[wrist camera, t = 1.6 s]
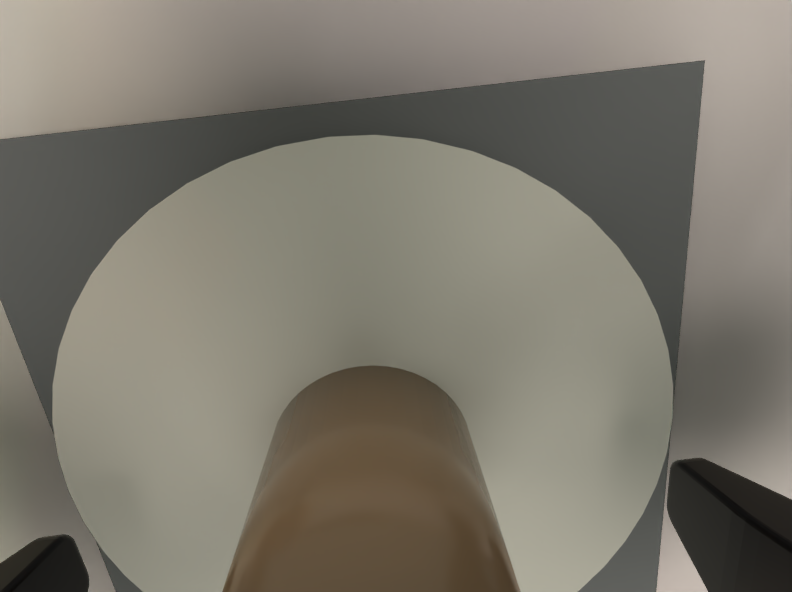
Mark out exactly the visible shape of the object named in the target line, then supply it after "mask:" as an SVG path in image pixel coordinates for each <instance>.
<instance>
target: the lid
mask: <svg viewBox="0 0 792 592" xmlns="http://www.w3.org/2000/svg"><path fill="white" fill-rule="evenodd" d="M672 420H673V380H672V373H671V366H670V358H669V351H668V347H667V344H666V340H665V337H664V334H663V330H662V327H661V324H660V320H659V317H658V314H657V312H656V310H655V308H654V306H653V304H652V302H651V300H650V298H649V295H648V293H647V291H646V289H645V287H644V285H643V283H642V281H641V279H640V278H639V276H638V275H637V273H636V272H635V271H634V269H633V268H632V266H631V265H630V263H629V262H628V260H627V259H626V258H625V256H624V255H623V253H622V252H621V250H620V249H619V247H618V246H617V245H616V244H615V243H614V242H613V241H612V240H611V239H610V238H609V237H608V236H607V235H606V234H605V233H604V232H603V231H602V230H601V228H600V227H599V226H598V225H597V224H596V223H595V222H594V221H593V220H592V219H591V218H590V217H589V216H588V215H586V214H585V213H584V212H582V211H581V210H580V209H579V208H577V207H576V206H575V205H574V204H572V203H571V202H570V201H568V200H567V199H566V198H565V197H563V196H562V195H561V194H559V193H558V192H557V191H556V190H554V189H552V188H550V187H549V186H547V185H545V184H543V183H541V182H540V181H538V180H536V179H534V178H533V177H531V176H529V175H527V174H526V173H524V172H522V171H520V170H519V169H517V168H515V167H512V166H509V165H507V164H504V163H502V162H499V161H497V160H494V159H492V158H489V157H486V156H484V155H481V154H479V153H476V152H474V151H470V150H466V149H462V148H458V147H454V146H449V145H445V144H441V143H437V142H432V141H428V140H424V139H417V138H406V137H395V136H385V135H354V136H331V137H324V138H319V139H313V140H308V141H303V142H297V143H292V144H286V145H281V146H276V147H273V148H270V149H267V150H264V151H261V152H258V153H255V154H252V155H249V156H246V157H243V158H240V159H237V160H234V161H231V162H229V163H227V164H225V165H223V166H221V167H219V168H217V169H215V170H213V171H211V172H209V173H207V174H205V175H203V176H201V177H199V178H197V179H195V180H193V181H191V182H189V183H187V184H185V185H184V186H183V187H181V188H180V189H178V190H177V191H175V192H174V193H173V194H171V195H170V196H168V197H167V198H165V199H164V200H163V201H161V202H160V203H158V204H157V205H155V206H154V207H153V208H151V209H150V210H149V211H148V212H147V213H145V214H144V215H143V216H142V217H141V218H140V219H139V220H138V221H137V222H136V223H135V224H134V225H133V226H132V227H131V228H130V229H129V230H128V231H127V232H126V233H125V234H123V235H122V236H121V237H120V238H119V239H118V240H117V241H116V243H115V244H114V245H113V247H112V248H111V249H110V250H109V252H108V253H107V254H106V256H105V257H104V258H103V260H102V261H101V262H100V264H99V265H98V266H97V267H96V269H95V270H94V271H93V273H92V274H91V276H90V277H89V279H88V281H87V283H86V285H85V287H84V289H83V291H82V292H81V294H80V296H79V298H78V300H77V302H76V304H75V305H74V307H73V309H72V311H71V314H70V317H69V320H68V323H67V326H66V329H65V332H64V334H63V337H62V340H61V343H60V346H59V350H58V356H57V362H56V368H55V374H54V380H53V402H52V423H53V429H54V435H55V442H56V448H57V455H58V459H59V462H60V466H61V469H62V472H63V475H64V478H65V481H66V484H67V488H68V491H69V493H70V495H71V497H72V499H73V501H74V503H75V505H76V507H77V509H78V511H79V513H80V515H81V517H82V520H83V522H84V523H85V525H86V526H87V528H88V529H89V531H90V532H91V534H92V535H93V537H94V538H95V540H96V541H97V543H98V544H99V546H100V547H101V549H102V550H103V551H104V552H105V554H106V555H107V556H108V557H109V558H110V559H111V560H112V562H113V563H114V564H115V565H116V566H117V567H118V568H119V569H120V571H121V572H122V573H123V574H124V575H125V576H126V577H127V578H128V579H129V580H130V581H131V582H133V583H134V584H135V585H136V586H137V587H138V588H139V589H140V590H142V591H143V592H578V591H579V590H580V589H581V588H582V587H583V586H585V585H586V584H587V583H588V582H589V581H590V580H591V579H592V578H593V577H594V576H595V575H596V574H597V573H598V572H599V571H600V570H601V569H602V568H603V567H604V566H605V565H606V564H607V563H608V562H609V560H610V559H611V558H612V557H613V555H614V554H615V553H616V552H617V551H618V549H619V548H620V547H621V546H622V545H623V543H624V542H625V541H626V539H627V538H628V536H629V535H630V533H631V532H632V530H633V528H634V527H635V525H636V524H637V522H638V521H639V519H640V518H641V516H642V514H643V513H644V510H645V508H646V506H647V504H648V502H649V500H650V498H651V496H652V494H653V491H654V489H655V487H656V485H657V482H658V479H659V476H660V473H661V470H662V467H663V464H664V460H665V457H666V454H667V449H668V443H669V437H670V431H671V425H672Z"/></svg>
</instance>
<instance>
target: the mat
mask: <svg viewBox="0 0 792 592" xmlns="http://www.w3.org/2000/svg"><path fill="white" fill-rule="evenodd" d="M704 63H705V60H704V61H695V62H686V63H677V64H668V65H660V66H651V67H642V68H633V69H624V70H615V71H606V72H597V73H588V74H579V75H571V76H562V77H553V78H544V79H535V80H526V81H517V82H508V83H499V84H490V85H481V86H473V87H464V88H455V89H446V90H437V91H428V92H419V93H410V94H401V95H392V96H384V97H375V98H366V99H357V100H348V101H339V102H330V103H321V104H312V105H303V106H295V107H286V108H277V109H268V110H259V111H250V112H241V113H232V114H223V115H214V116H206V117H197V118H188V119H179V120H170V121H161V122H152V123H143V124H134V125H125V126H116V127H108V128H99V129H90V130H81V131H72V132H63V133H54V134H45V135H36V136H27V137H19V138H10V139H1V140H0V300H1V302H2V305H3V307H4V310H5V312H6V315H7V317H8V320H9V322H10V325H11V327H12V330H13V332H14V335H15V337H16V340H17V342H18V345H19V348H20V350H21V353H22V355H23V358H24V360H25V363H26V365H27V368H28V370H29V373H30V375H31V378H32V380H33V383H34V385H35V388H36V390H37V393H38V396H39V398H40V401H41V403H42V406H43V408H44V411H45V413H46V416H47V418H48V421H49V423H50V426H51V428H52V431H53V433H54V429H53V423H52V402H53V380H54V374H55V368H56V362H57V356H58V350H59V346H60V343H61V340H62V337H63V334H64V332H65V329H66V326H67V323H68V320H69V317H70V314H71V311H72V309H73V307H74V305H75V304H76V302H77V300H78V298H79V296H80V294H81V292H82V291H83V289H84V287H85V285H86V283H87V281H88V279H89V277H90V276H91V274H92V273H93V271H94V270H95V269H96V267H97V266H98V265H99V264H100V262H101V261H102V260H103V258H104V257H105V256H106V254H107V253H108V252H109V250H110V249H111V248H112V247H113V245H114V244H115V243H116V241H117V240H118V239H119V238H120V237H121V236H122V235H123V234H125V233H126V232H127V231H128V230H129V229H130V228H131V227H132V226H133V225H134V224H135V223H136V222H137V221H138V220H139V219H140V218H141V217H142V216H143V215H144V214H145V213H147V212H148V211H149V210H150V209H151V208H153V207H154V206H155V205H157V204H158V203H160V202H161V201H163V200H164V199H165V198H167V197H168V196H170V195H171V194H173V193H174V192H175V191H177V190H178V189H180V188H181V187H183V186H184V185H185V184H187V183H189V182H191V181H193V180H195V179H197V178H199V177H201V176H203V175H205V174H207V173H209V172H211V171H213V170H215V169H217V168H219V167H221V166H223V165H225V164H227V163H229V162H231V161H234V160H237V159H240V158H243V157H246V156H249V155H252V154H255V153H258V152H261V151H264V150H267V149H270V148H273V147H276V146H281V145H286V144H292V143H297V142H303V141H308V140H313V139H319V138H324V137H331V136H354V135H385V136H395V137H406V138H417V139H424V140H428V141H432V142H437V143H441V144H445V145H449V146H454V147H458V148H462V149H466V150H470V151H474V152H476V153H479V154H481V155H484V156H486V157H489V158H492V159H494V160H497V161H499V162H502V163H504V164H507V165H509V166H512V167H515V168H517V169H519V170H520V171H522V172H524V173H526V174H527V175H529V176H531V177H533V178H534V179H536V180H538V181H540V182H541V183H543V184H545V185H547V186H549V187H550V188H552V189H554V190H556V191H557V192H558V193H559V194H561V195H562V196H563V197H565V198H566V199H567V200H568V201H570V202H571V203H572V204H574V205H575V206H576V207H577V208H579V209H580V210H581V211H582V212H584V213H585V214H586V215H588V216H589V217H590V218H591V219H592V220H593V221H594V222H595V223H596V224H597V225H598V226H599V227H600V228H601V230H602V231H603V232H604V233H605V234H606V235H607V236H608V237H609V238H610V239H611V240H612V241H613V242H614V243H615V244H616V245H617V246H618V247H619V249H620V250H621V252H622V253H623V255H624V256H625V258H626V259H627V260H628V262H629V263H630V265H631V266H632V268H633V269H634V271H635V272H636V273H637V275H638V276H639V278H640V279H641V281H642V283H643V285H644V287H645V289H646V291H647V293H648V295H649V298H650V300H651V302H652V304H653V306H654V308H655V310H656V312H657V314H658V317H659V320H660V324H661V327H662V330H663V334H664V337H665V340H666V344H667V347H668V351H669V358H670V366H671V373H672V380H673V401H674V390H675V379H676V368H677V358H678V347H679V336H680V325H681V314H682V303H683V292H684V281H685V270H686V259H687V248H688V237H689V227H690V216H691V205H692V194H693V183H694V172H695V161H696V150H697V139H698V128H699V117H700V106H701V96H702V85H703V74H704ZM670 434H671V431H670ZM54 436H55V435H54ZM669 445H670V437H669V443H668V449H667V454H666V457H665V460H664V464H663V467H662V470H661V473H660V476H659V479H658V482H657V485H656V487H655V489H654V491H653V494H652V496H651V498H650V500H649V502H648V504H647V506H646V508H645V510H644V513H643V514H642V516H641V518H640V519H639V521H638V522H637V524H636V525H635V527H634V528H633V530H632V532H631V533H630V535H629V536H628V538H627V539H626V541H625V542H624V543H623V545H622V546H621V547H620V548H619V549H618V551H617V552H616V553H615V554H614V555H613V557H612V558H611V559H610V560H609V562H608V563H607V564H606V565H605V566H604V567H603V568H602V569H601V570H600V571H599V572H598V573H597V574H596V575H595V576H594V577H593V578H592V579H591V580H590V581H589V582H588V583H587V584H586V585H585V586H583V587H582V588H581V589H580V590H579V591H578V592H656V587H657V576H658V565H659V554H660V543H661V532H662V521H663V510H664V499H665V489H666V478H667V467H668V456H669ZM96 542H97V541H96ZM97 545H98V547H99V550H100V552H101V555H102V557H103V560H104V562H105V565H106V567H107V570H108V572H109V575H110V577H111V580H112V582H113V585H114V588H115V590H116V592H143V591H142V590H140V589H139V588H138V587H137V586H136V585H135V584H134V583H133V582H131V581H130V580H129V579H128V578H127V577H126V576H125V575H124V574H123V573H122V572H121V571H120V569H119V568H118V567H117V566H116V565H115V564H114V563H113V562H112V560H111V559H110V558H109V557H108V556H107V555H106V554H105V552H104V551H103V550H102V549H101V547H100V546H99V544H98V543H97Z"/></svg>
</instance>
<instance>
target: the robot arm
mask: <svg viewBox="0 0 792 592" xmlns="http://www.w3.org/2000/svg"><path fill="white" fill-rule="evenodd" d="M667 510H668V514H669V517H670V520H671V522H672V524H673V526H674V528H675V530H676V532H677V533H678V535H679V537H680V539H681V541H682V543H683V545H684V547H685V549H686V550H687V552H688V554H689V556H690V558H691V560H692V562H693V564H694V566H695V567H696V569H697V571H698V573H699V575H700V577H701V579H702V581H703V583H704V584H705V586H706V588H707V590H708V592H792V500H791V499H789V498H787V497H785V496H783V495H781V494H778V493H776V492H774V491H772V490H770V489H768V488H766V487H764V486H761V485H759V484H757V483H755V482H753V481H751V480H749V479H746V478H744V477H742V476H740V475H738V474H736V473H734V472H732V471H729V470H727V469H725V468H723V467H721V466H719V465H717V464H715V463H712V462H710V461H708V460H706V459H703V458H692V459H683V460H677V461H675V462H673V463H672V465H671V468H670V476H669V487H668V497H667ZM88 587H89V575H88V572H87V570H86V567H85V565H84V562H83V560H82V558H81V555H80V553H79V550H78V548H77V546H76V543H75V541H74V539H73V538H72V537H70V536H69V535H55V536H47V537H42V538H38V539H36V540H34V541H33V542H31V543H30V544H28V545H27V546H25V547H24V548H22V549H21V550H19V551H18V552H16V553H15V554H13V555H12V556H10V557H9V558H8V559H6V560H5V561H3V562H2V563H0V592H88Z"/></svg>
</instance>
